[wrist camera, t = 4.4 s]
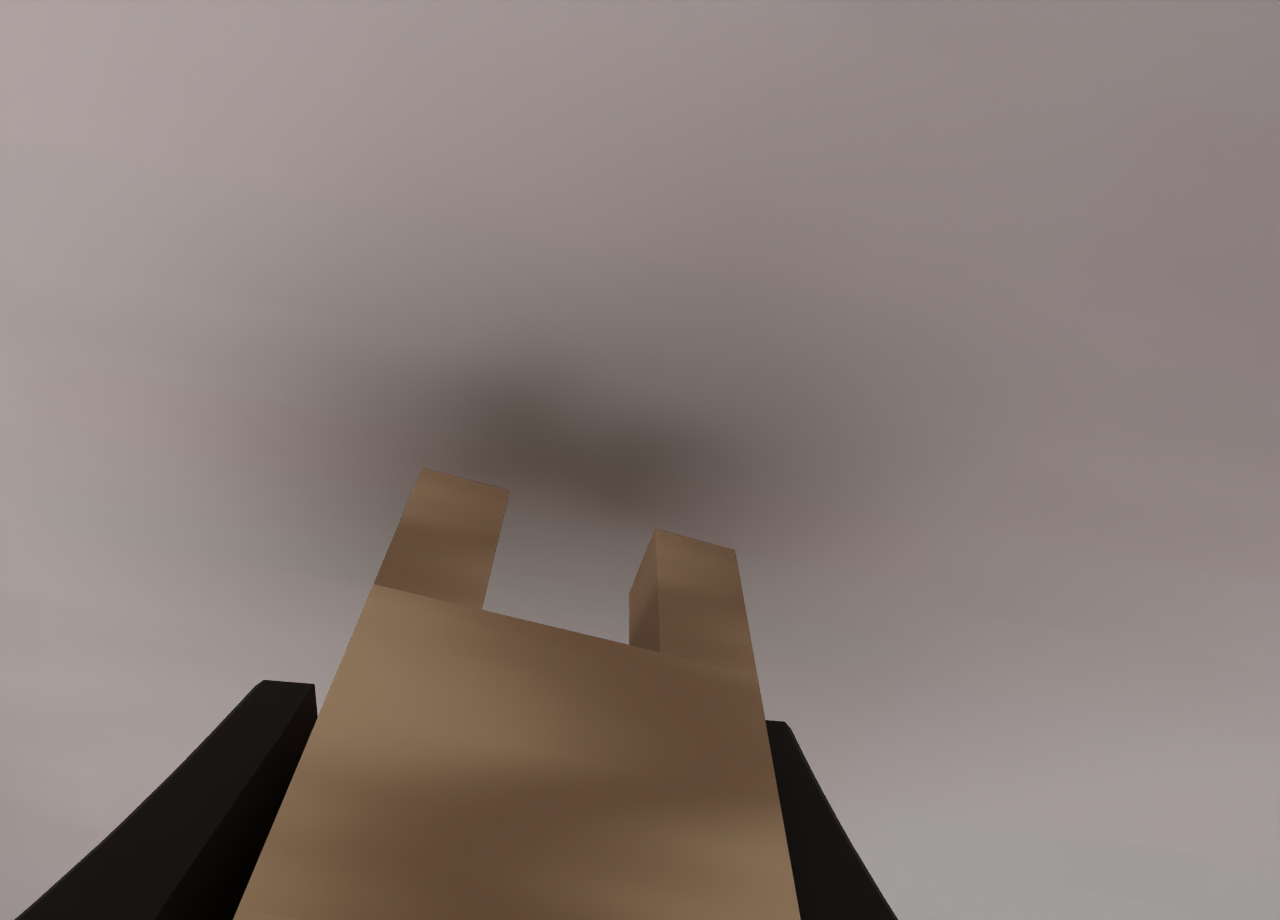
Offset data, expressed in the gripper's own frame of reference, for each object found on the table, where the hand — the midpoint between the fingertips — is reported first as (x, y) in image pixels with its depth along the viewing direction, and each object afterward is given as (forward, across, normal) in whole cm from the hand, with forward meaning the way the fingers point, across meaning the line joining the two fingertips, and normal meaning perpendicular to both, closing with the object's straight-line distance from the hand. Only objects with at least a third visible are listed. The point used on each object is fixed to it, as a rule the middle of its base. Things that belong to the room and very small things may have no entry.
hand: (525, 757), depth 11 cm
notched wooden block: (+2, 0, 0) cm, 2 cm away
